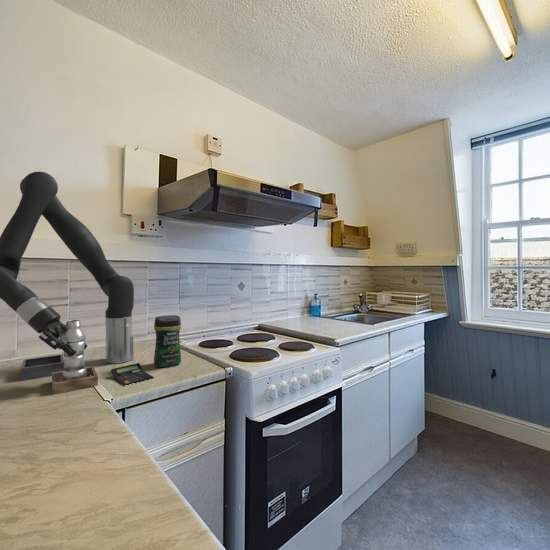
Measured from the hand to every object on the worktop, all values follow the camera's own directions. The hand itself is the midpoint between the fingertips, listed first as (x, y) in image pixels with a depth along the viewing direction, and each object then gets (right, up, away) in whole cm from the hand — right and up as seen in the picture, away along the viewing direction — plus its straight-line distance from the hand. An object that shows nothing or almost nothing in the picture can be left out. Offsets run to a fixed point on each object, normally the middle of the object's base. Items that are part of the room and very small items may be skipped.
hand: (79, 351), depth 100 cm
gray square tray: (-19, -10, +10) cm, 24 cm away
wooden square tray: (-2, -10, 0) cm, 10 cm away
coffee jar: (+21, -10, +20) cm, 31 cm away
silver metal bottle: (-2, -11, 0) cm, 11 cm away
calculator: (+14, -11, +6) cm, 19 cm away
